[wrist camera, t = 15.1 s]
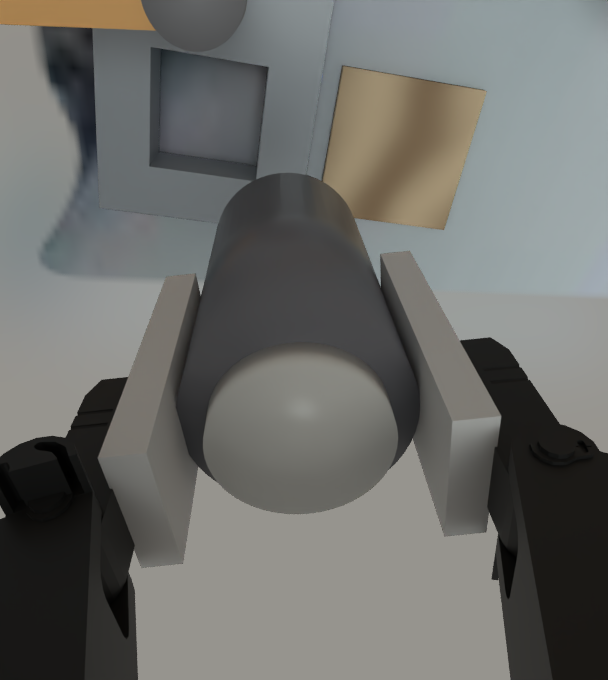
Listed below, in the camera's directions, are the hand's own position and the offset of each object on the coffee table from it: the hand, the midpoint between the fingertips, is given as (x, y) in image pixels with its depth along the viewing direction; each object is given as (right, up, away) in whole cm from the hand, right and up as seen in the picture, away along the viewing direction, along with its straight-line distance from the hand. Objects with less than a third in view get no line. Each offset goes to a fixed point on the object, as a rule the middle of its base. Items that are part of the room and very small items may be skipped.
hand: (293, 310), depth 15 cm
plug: (0, +3, +4) cm, 5 cm away
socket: (-5, +13, +19) cm, 24 cm away
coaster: (+6, +11, +21) cm, 25 cm away
